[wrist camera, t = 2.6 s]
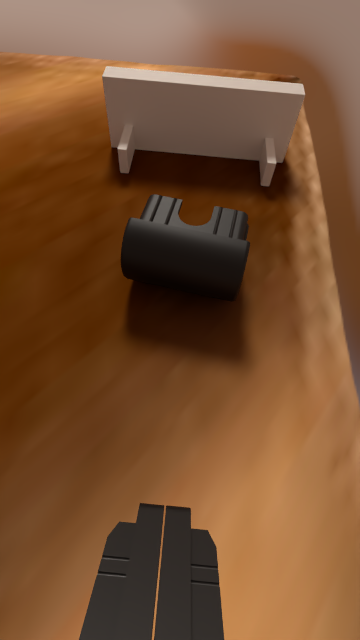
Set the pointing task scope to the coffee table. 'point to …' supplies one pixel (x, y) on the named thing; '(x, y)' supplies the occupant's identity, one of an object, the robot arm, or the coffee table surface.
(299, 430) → the coffee table surface
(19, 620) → the coffee table surface
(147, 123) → the white board with feet
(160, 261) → the end cap
